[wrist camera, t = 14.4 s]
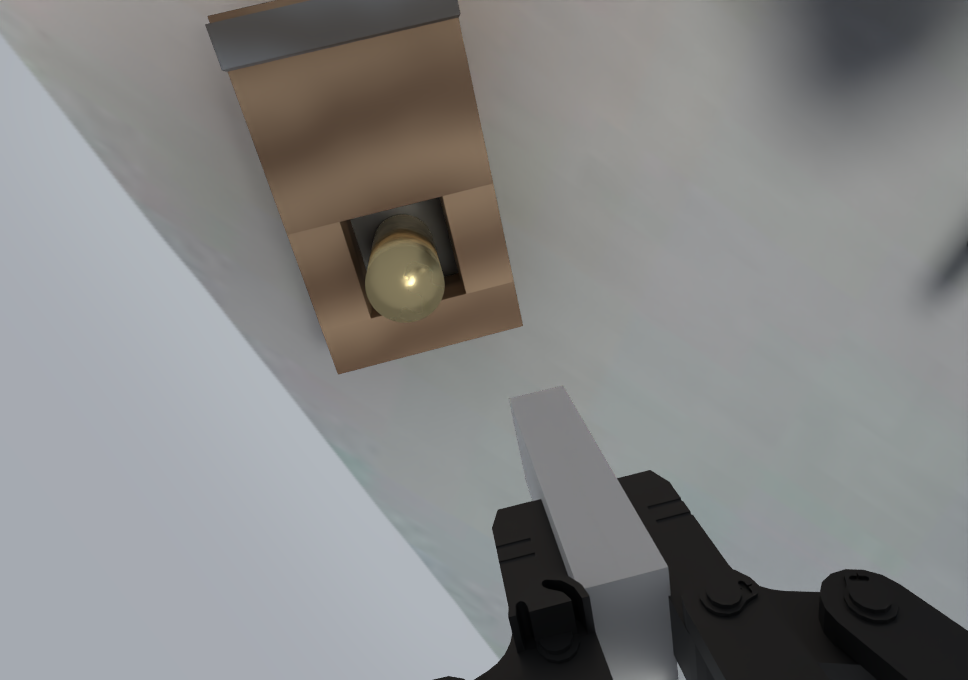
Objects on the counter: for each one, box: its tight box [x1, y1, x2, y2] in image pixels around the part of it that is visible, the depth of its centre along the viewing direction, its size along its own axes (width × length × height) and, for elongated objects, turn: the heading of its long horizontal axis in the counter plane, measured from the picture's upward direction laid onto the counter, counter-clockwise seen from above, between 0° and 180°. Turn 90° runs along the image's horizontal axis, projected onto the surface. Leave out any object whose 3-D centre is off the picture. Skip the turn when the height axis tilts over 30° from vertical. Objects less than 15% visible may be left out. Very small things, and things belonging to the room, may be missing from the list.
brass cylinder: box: [365, 214, 445, 323], centre depth 33 cm, size 4×4×10 cm
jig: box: [205, 0, 523, 374], centre depth 33 cm, size 20×12×6 cm, turn 13°
